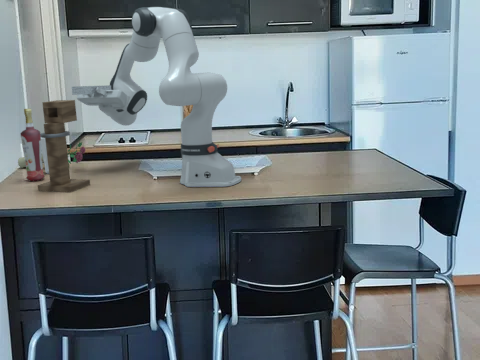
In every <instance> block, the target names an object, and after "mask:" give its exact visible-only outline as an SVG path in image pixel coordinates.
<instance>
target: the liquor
mask: <svg viewBox="0 0 480 360" xmlns="http://www.w3.org/2000/svg"><path fill="white" fill-rule="evenodd" d="M32 111H33V110H32V108H23V112H24V113H23V114H24V117H25V129H24V130H22V131H21V132H20V138H21V146H22V150H23V156H24V157H25V163H26V168H25V169H26V179H27V180H28V181H29V182H39V181H42V180H43V179H44V178H45V174H44V168H43V162H42V151H41V136H40V134H41V131H40V130H38V129H37V128H35V127H34V122H33V121H34V120H33V118H32V115H33V113H32Z"/></svg>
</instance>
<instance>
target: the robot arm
mask: <svg viewBox="0 0 480 360" xmlns="http://www.w3.org/2000/svg"><path fill="white" fill-rule="evenodd" d="M131 16H132V17H131V26H132V35H131V39H130V42H129V43H127V44H126V45H125V46H124V48H123V50H122V52H121V55H120V57H119V61H118V63H117V66H116V69H115V72H114V75H113V76H112V78H111V79H110V82H109V85H111V90H103V89H100V88H99V87H95V89H94V91H95V92H96V93H99V94H81V95H76V99H77V100H78V101H79V102H80V103H82V104H84V105H87V106H88V107H89V106H90V107H91V106H92V107H94V106H96V107H97V106H98V109H99V110H100V111H101V112H102V113H103V114H105V115H106V116H107V117H109V118H110V119H112V121H114V122H116V123H118V124H119V125H121V126H130V125H133V124H134V123H135V122H136V120H137V117H138V113H139V112H140V111H142V110H143V108H144V107H145V106H146V104H147V102H148V93H147V91H145V89H143V88H142V87H141V86H140V85H139V84H138V83H137V82H135V81H134V80H133V78H132V76H131V72H132V68H133V66H134V63H135V62H137V63H145V62H149V61H151V60H154V58H156V56H157V54H158V52H159V47H160V42H161V38H162V41H163V45H164V48H165V52H166V56H167V59H168V61H167V62H168V70H167V73H166V74H165V76H164V78H163V79H161V81H160V83H159V85H158V94H159V98H160V100H161V101H162V102H163V103H164V104H165V105H167V106H175V107H183V106H185V107H186V106H192V109H191V110H190V112H189V114H188V115H187V116H185V117H184V118H183V119H182V121H181V122H180V136H181V144H180V154H181V159H182V160H181V163H182V164H181V172H180V173H181V174H180V180H179V183H180V184H181V185H185V187H188V188H190V187H193V188H194V187H195V188H199V187H200V188H202V187H203V188H206V187H209V188H210V187H211V188H212V187H214V188H215V187H216V188H217V187H222V188H225V187H231V186H234V185H237V184H238V183H240V182H241V181H242V176H240V175H236V172H235V168H234V165H233V163H232V162H231V161H230V160H228V159H227V158H225V157H224V156H222V155H221V154H220V153H219V152H218V148H219V147H220V146H219V145H220V144H219V143H218V144H215V142H213V119H214V115H215V112H216V110H217V107H218V106H219V104H220V103H221V102H222V100H224V99H225V97H226V96H227V93H228V84H227V80H226V79H225V77H224V76H223V75H222V74H220V73H215V72H198V73H197V72H196V73H194V72H193V73H192V71H191V68H192V66H194V65H195V64H196V63H197V62H198V60H199V57H200V52H199V49H198V45H197V43H196V40H195V36H194V34H193V30H192V28H191V26H190V19H189V16H188V14H187V12H186V11H185V10H183V9H181V8H171V7H161V6H150V7H147V6H146V7H145V6H144V7H139V8H136V9H135V10H134V12H133V13H132V15H131Z"/></svg>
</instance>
